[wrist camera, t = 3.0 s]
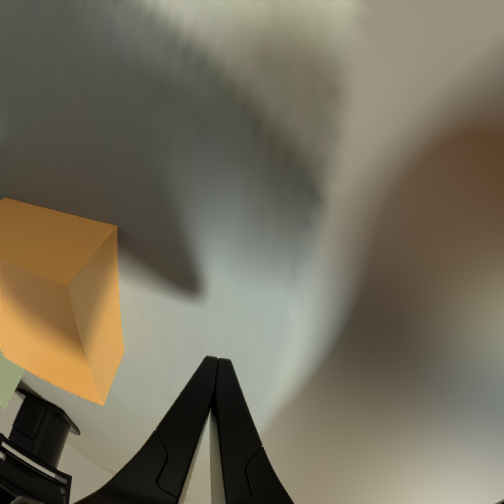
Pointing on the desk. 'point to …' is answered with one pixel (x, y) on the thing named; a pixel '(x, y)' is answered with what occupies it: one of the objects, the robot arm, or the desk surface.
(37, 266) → the amber cuboid
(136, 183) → the desk surface
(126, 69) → the desk surface
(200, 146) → the desk surface
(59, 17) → the desk surface
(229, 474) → the robot arm
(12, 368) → the sage green lidded box
